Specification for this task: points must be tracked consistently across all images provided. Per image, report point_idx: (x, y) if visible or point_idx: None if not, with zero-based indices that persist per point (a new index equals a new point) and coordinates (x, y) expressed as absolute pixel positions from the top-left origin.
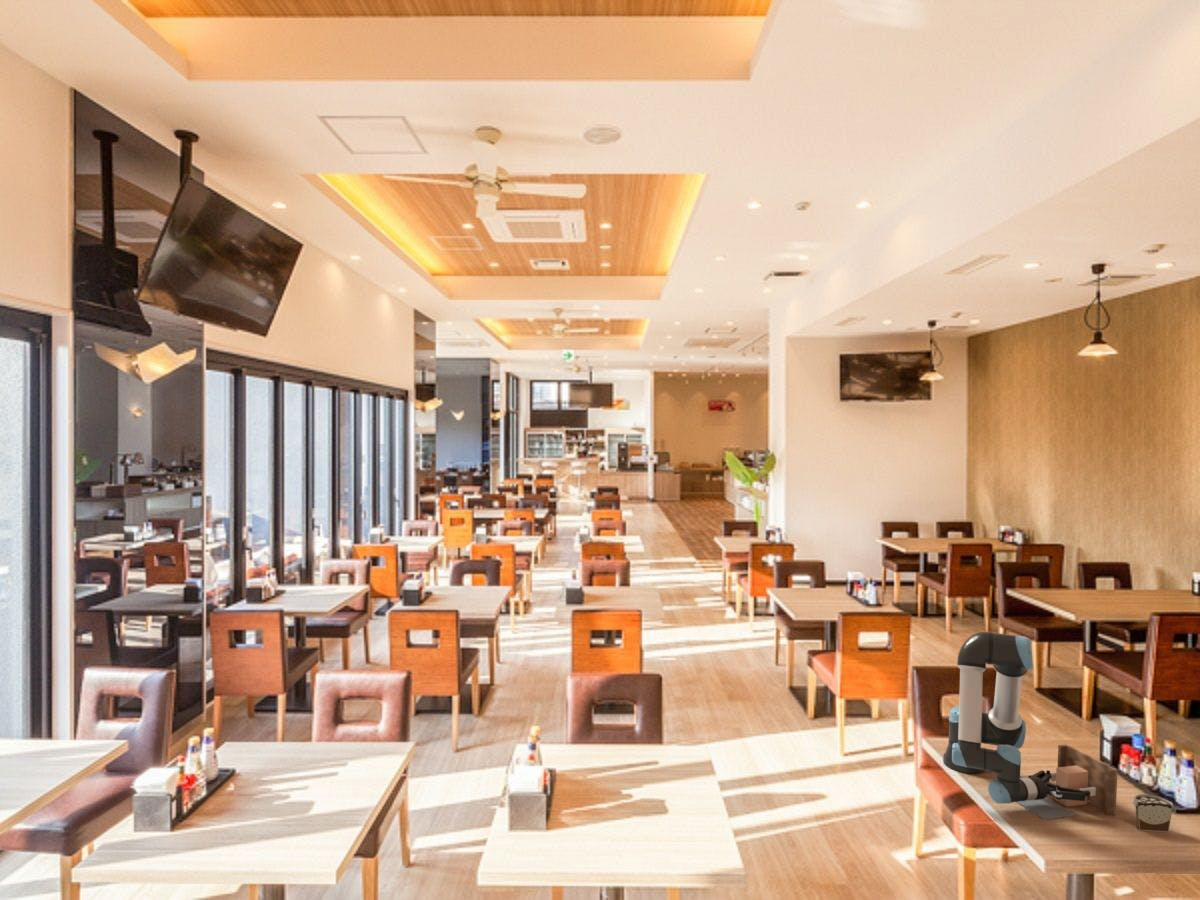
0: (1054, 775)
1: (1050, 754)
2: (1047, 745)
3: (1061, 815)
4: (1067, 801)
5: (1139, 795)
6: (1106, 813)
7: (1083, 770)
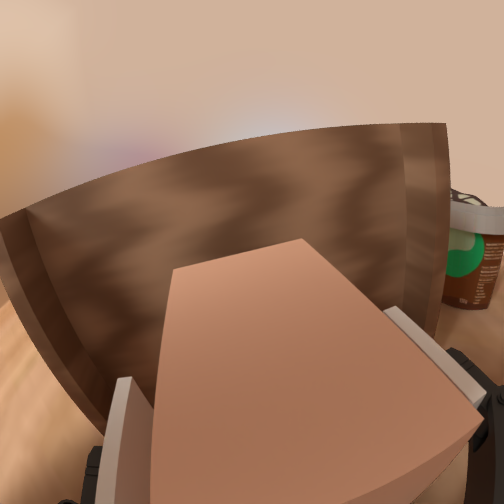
0: (125, 494)
1: (16, 329)
2: (6, 316)
3: None
4: None
5: None
6: None
7: (284, 255)
